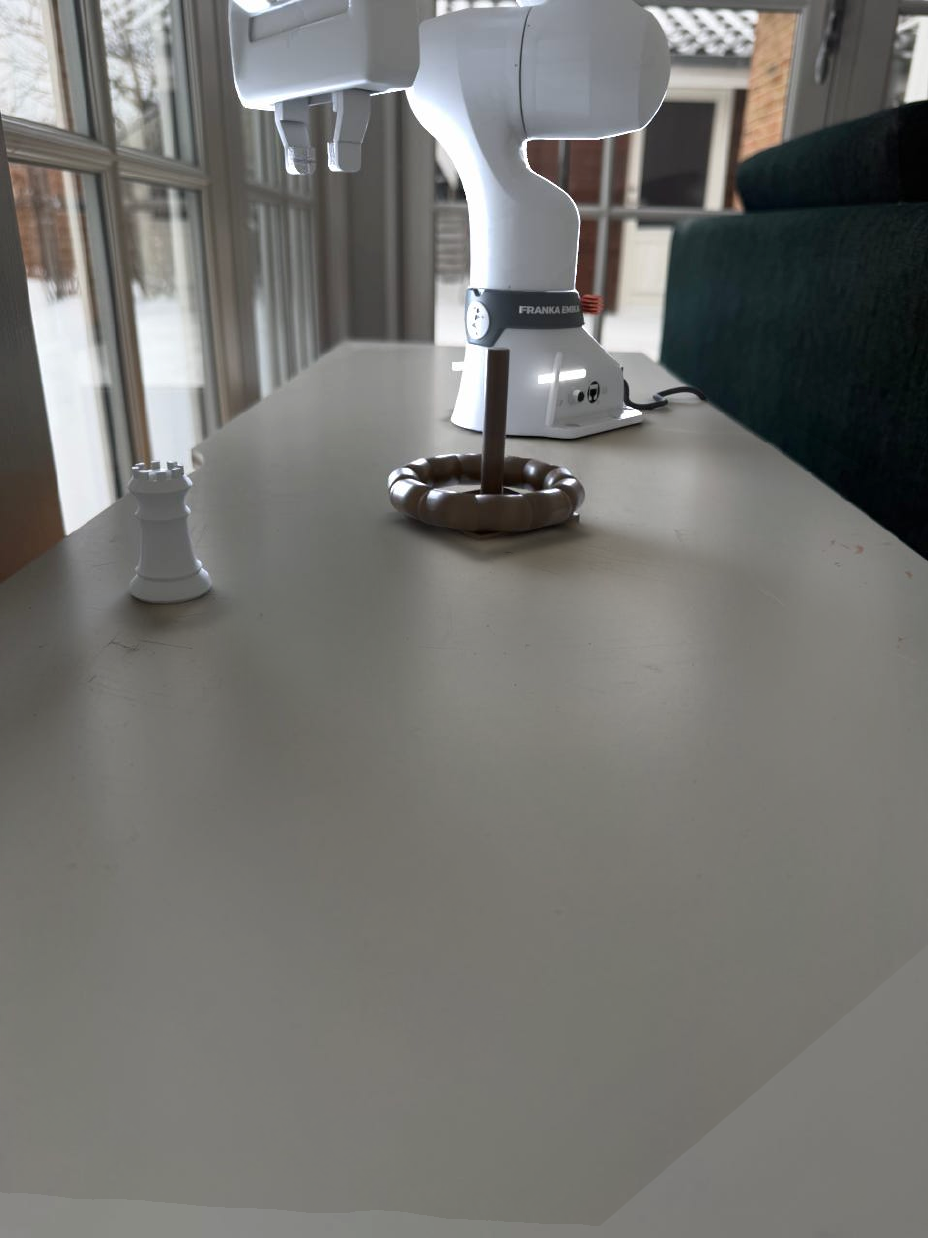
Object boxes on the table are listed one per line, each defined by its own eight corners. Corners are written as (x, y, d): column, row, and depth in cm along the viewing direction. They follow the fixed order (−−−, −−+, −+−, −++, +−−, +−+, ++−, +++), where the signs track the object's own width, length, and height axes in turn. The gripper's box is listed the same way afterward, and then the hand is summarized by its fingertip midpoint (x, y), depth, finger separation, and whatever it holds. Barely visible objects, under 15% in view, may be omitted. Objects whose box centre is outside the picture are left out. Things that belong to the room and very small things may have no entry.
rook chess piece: (169, 632, 46) (152, 482, 43) (113, 612, 48) (92, 467, 45) (232, 605, 49) (221, 464, 46) (177, 587, 52) (162, 452, 48)
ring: (498, 472, 72) (499, 443, 71) (621, 515, 62) (624, 481, 61) (352, 496, 65) (351, 464, 64) (466, 549, 55) (467, 512, 54)
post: (498, 503, 69) (506, 338, 64) (578, 534, 63) (594, 353, 58) (403, 522, 64) (403, 343, 59) (479, 557, 58) (487, 360, 53)
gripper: (446, -90, 52) (442, 171, 58) (288, -25, 67) (296, 178, 73) (354, -116, 49) (359, 165, 54) (208, -41, 64) (224, 174, 69)
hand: (322, 173), depth 64 cm, fingers open, 5 cm apart
